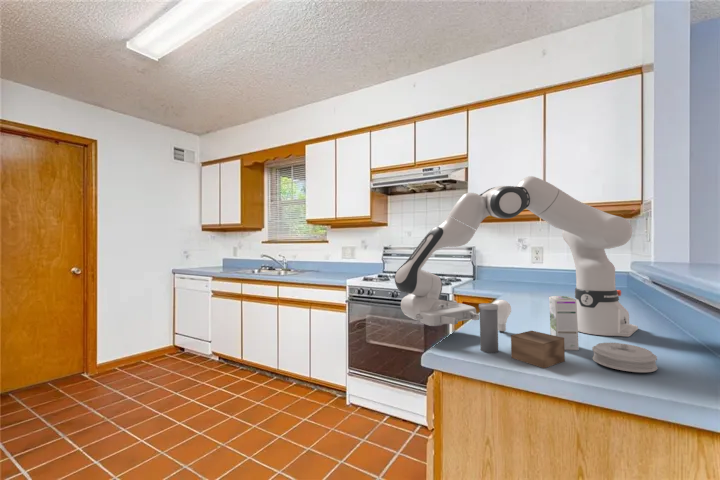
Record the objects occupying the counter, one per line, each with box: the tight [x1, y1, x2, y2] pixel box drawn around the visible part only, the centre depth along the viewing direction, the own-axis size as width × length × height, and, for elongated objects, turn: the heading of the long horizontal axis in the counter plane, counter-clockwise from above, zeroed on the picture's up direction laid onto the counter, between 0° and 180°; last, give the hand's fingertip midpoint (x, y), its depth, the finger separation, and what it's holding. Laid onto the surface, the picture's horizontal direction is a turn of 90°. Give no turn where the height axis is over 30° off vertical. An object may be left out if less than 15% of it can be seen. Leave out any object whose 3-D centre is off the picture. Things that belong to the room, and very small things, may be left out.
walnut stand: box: [510, 330, 566, 369], centre depth 90 cm, size 9×9×6 cm
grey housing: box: [478, 302, 499, 354], centre depth 98 cm, size 5×5×13 cm
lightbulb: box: [492, 299, 512, 333], centre depth 118 cm, size 6×6×11 cm
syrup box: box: [548, 295, 579, 351], centre depth 100 cm, size 6×6×14 cm
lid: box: [591, 342, 658, 373], centre depth 85 cm, size 13×13×5 cm
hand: (467, 319), depth 105 cm, fingers open, 8 cm apart
